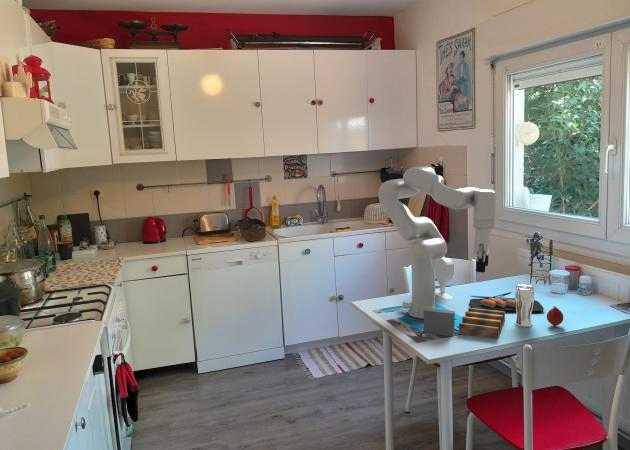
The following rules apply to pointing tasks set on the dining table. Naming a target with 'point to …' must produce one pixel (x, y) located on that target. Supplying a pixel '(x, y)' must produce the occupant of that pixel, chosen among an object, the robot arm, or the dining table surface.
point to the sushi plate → (500, 303)
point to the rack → (482, 323)
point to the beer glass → (524, 305)
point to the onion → (555, 316)
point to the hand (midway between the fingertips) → (482, 268)
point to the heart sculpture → (443, 274)
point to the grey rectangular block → (439, 322)
